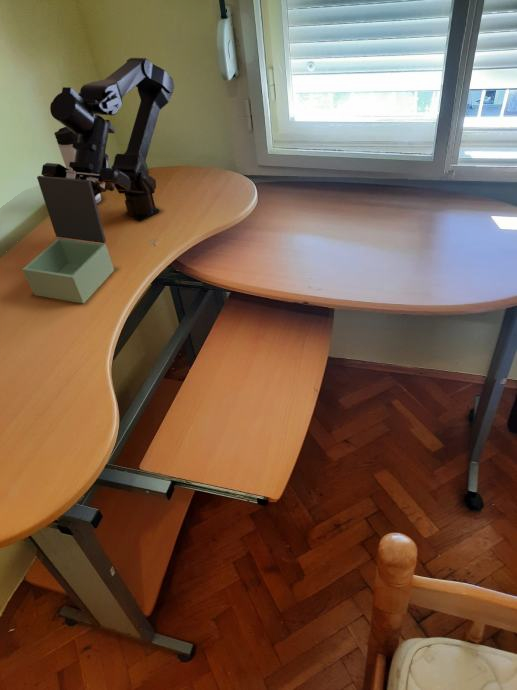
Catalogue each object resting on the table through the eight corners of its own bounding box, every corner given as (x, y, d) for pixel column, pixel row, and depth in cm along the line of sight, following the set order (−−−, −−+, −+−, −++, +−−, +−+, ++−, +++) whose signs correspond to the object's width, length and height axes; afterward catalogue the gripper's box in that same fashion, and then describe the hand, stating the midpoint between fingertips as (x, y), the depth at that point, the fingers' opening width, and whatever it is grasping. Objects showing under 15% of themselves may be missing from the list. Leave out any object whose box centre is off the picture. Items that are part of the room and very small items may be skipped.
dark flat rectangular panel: (88, 181, 91) (90, 180, 92) (36, 176, 94) (39, 175, 95) (104, 243, 99) (106, 241, 100) (56, 236, 102) (58, 235, 103)
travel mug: (96, 207, 127) (71, 131, 113) (75, 206, 128) (47, 131, 114) (106, 196, 132) (83, 122, 118) (85, 195, 133) (60, 122, 119)
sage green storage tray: (83, 303, 96) (72, 277, 91) (34, 295, 99) (21, 269, 95) (114, 270, 104) (105, 244, 100) (68, 263, 108) (57, 237, 103)
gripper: (148, 163, 105) (136, 231, 105) (78, 157, 109) (67, 222, 110) (122, 140, 94) (108, 216, 94) (45, 135, 99) (33, 207, 99)
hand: (79, 216), depth 99 cm, fingers closed
